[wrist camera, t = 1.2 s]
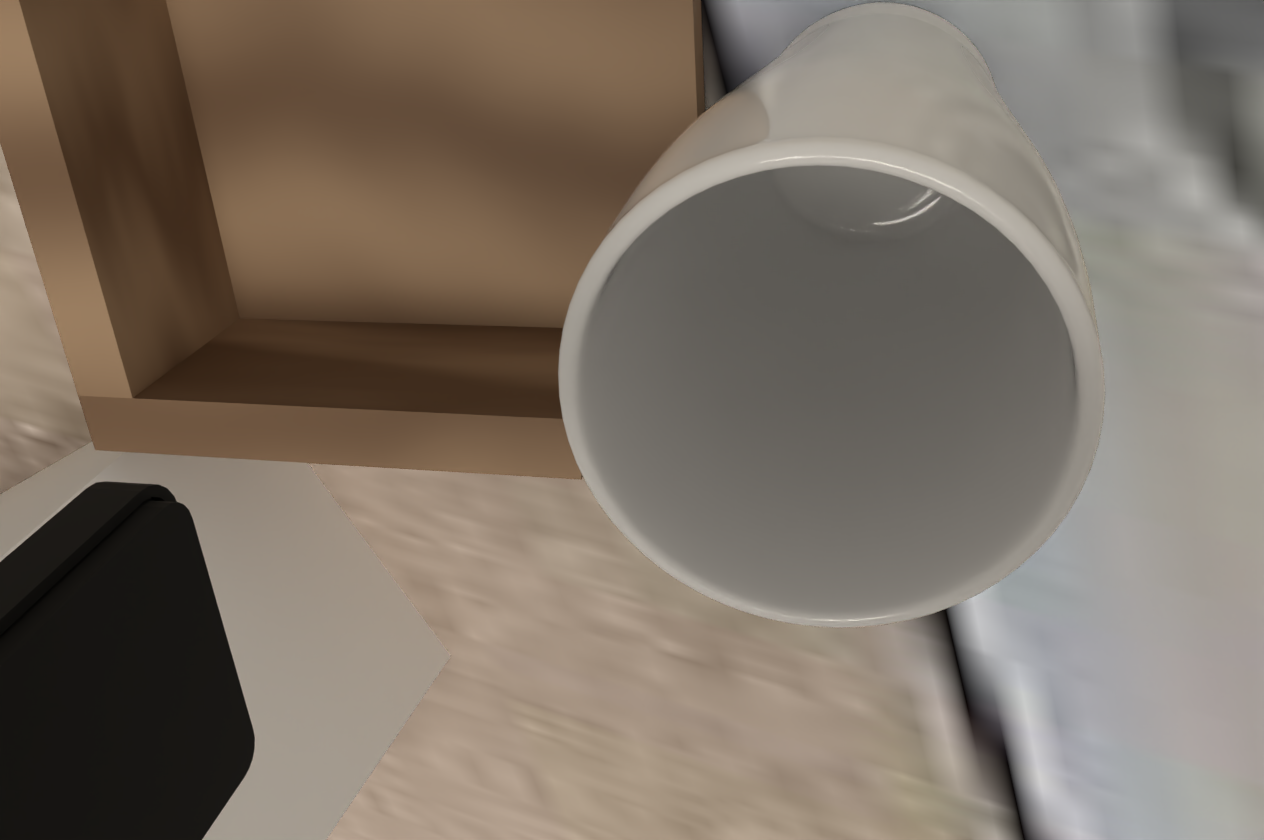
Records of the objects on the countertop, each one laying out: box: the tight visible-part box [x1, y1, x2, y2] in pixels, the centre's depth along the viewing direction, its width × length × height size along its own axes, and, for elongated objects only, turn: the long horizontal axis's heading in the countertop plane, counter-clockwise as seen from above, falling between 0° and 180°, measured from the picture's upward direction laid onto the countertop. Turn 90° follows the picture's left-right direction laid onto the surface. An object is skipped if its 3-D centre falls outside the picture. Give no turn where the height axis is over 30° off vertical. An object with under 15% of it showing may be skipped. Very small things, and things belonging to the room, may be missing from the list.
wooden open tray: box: [0, 0, 705, 479], centre depth 28 cm, size 15×16×6 cm
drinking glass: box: [558, 2, 1105, 628], centre depth 21 cm, size 7×7×15 cm
